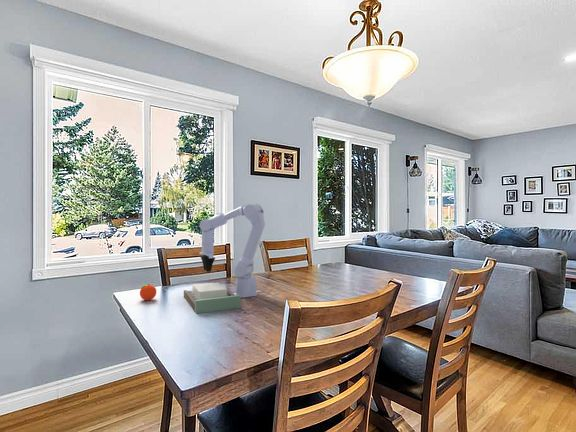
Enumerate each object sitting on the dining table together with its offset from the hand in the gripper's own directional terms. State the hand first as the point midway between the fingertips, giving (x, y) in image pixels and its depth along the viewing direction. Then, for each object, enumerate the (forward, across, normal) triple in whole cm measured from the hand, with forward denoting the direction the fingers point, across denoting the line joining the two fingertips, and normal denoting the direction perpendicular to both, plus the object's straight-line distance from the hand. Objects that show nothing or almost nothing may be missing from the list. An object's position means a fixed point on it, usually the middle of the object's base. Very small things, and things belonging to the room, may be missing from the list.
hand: (207, 270), depth 163 cm
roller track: (+10, +17, -3) cm, 20 cm away
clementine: (+11, +4, -28) cm, 30 cm away
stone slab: (+7, +16, -3) cm, 18 cm away
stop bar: (+10, +31, -3) cm, 33 cm away
